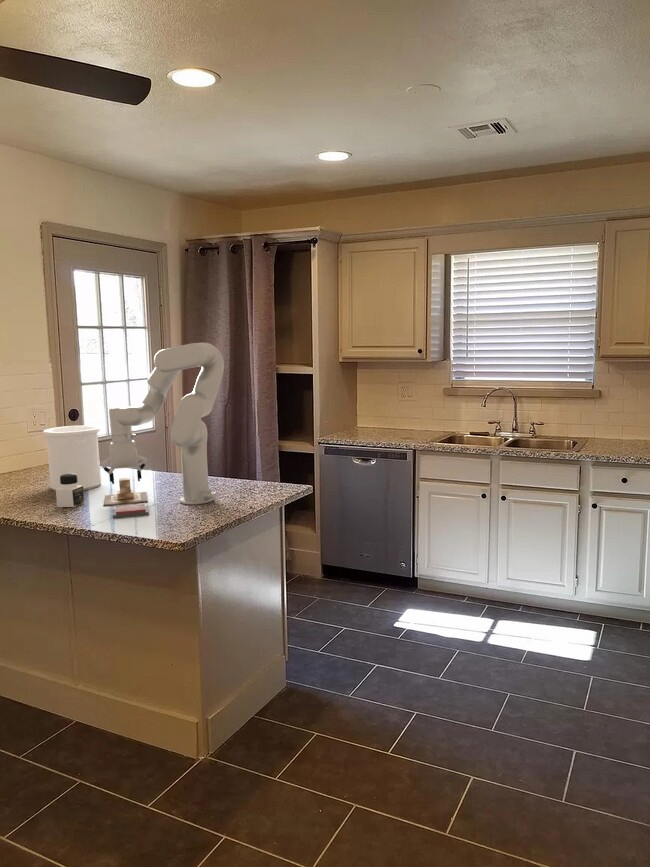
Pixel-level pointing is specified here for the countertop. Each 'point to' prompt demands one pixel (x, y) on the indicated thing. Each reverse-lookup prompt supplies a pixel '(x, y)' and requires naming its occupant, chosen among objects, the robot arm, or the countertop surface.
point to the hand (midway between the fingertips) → (126, 482)
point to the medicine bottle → (69, 491)
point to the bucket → (74, 455)
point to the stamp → (125, 489)
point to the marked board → (113, 500)
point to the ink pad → (130, 511)
